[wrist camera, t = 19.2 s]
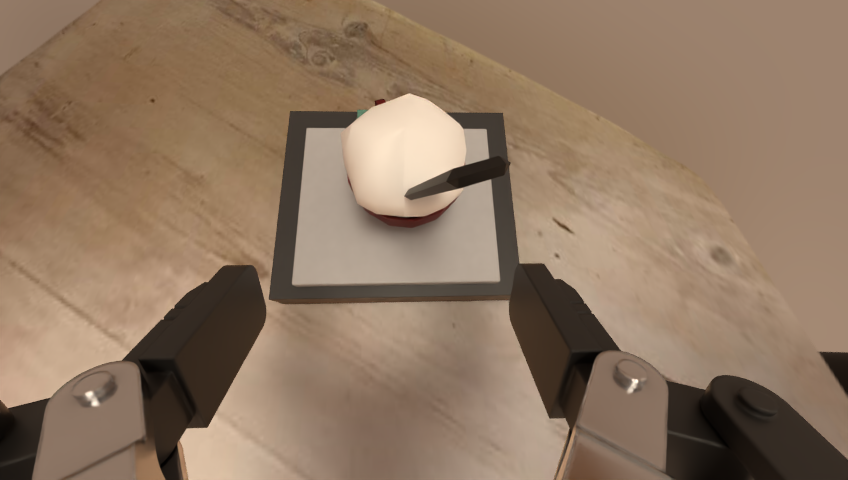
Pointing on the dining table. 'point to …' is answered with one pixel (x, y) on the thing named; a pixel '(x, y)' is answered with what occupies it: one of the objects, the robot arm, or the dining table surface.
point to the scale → (388, 227)
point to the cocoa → (410, 161)
